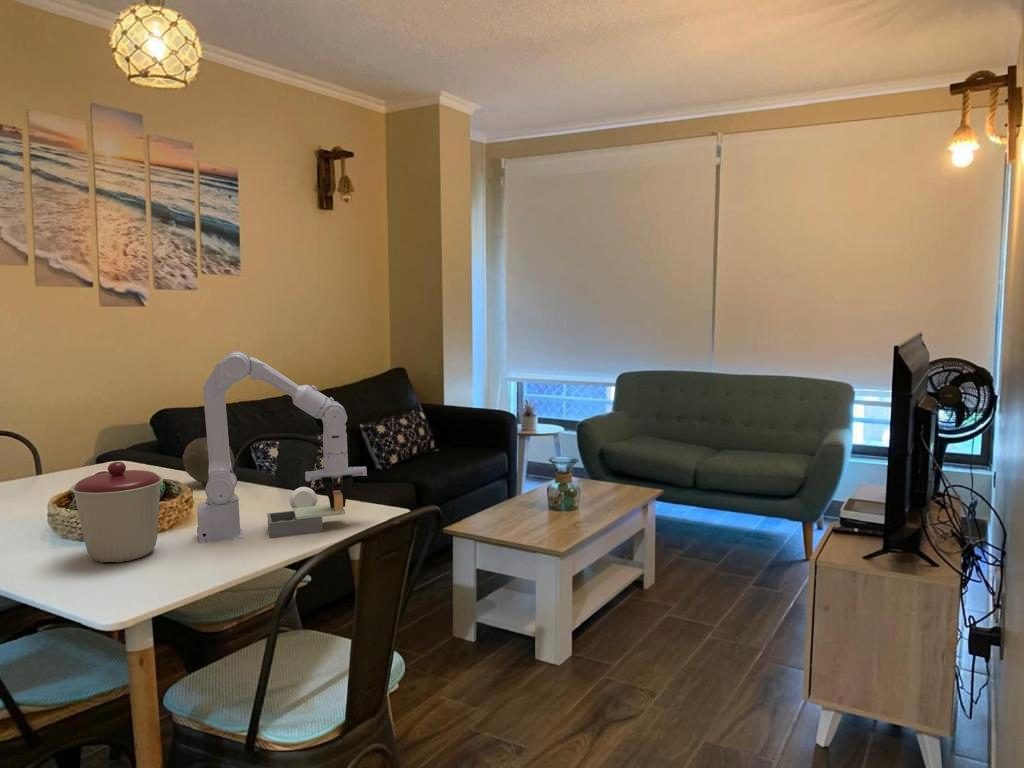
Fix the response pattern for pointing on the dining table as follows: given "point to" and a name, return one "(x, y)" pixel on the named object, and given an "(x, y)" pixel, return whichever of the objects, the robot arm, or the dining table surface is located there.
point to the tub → (292, 525)
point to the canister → (119, 513)
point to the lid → (322, 508)
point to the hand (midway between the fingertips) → (337, 506)
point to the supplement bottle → (303, 498)
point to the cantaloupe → (199, 460)
